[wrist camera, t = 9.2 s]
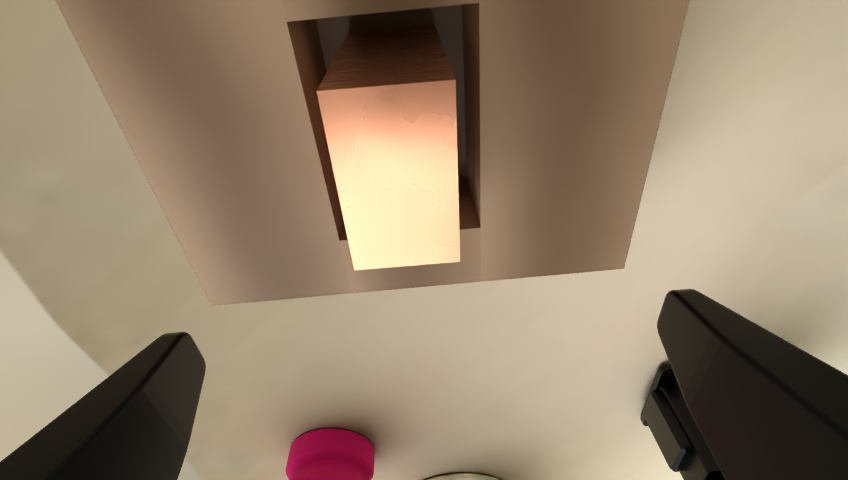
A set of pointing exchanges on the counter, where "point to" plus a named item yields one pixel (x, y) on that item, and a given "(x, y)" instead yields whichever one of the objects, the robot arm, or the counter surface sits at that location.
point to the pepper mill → (330, 456)
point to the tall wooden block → (394, 146)
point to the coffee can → (463, 477)
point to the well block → (308, 150)
